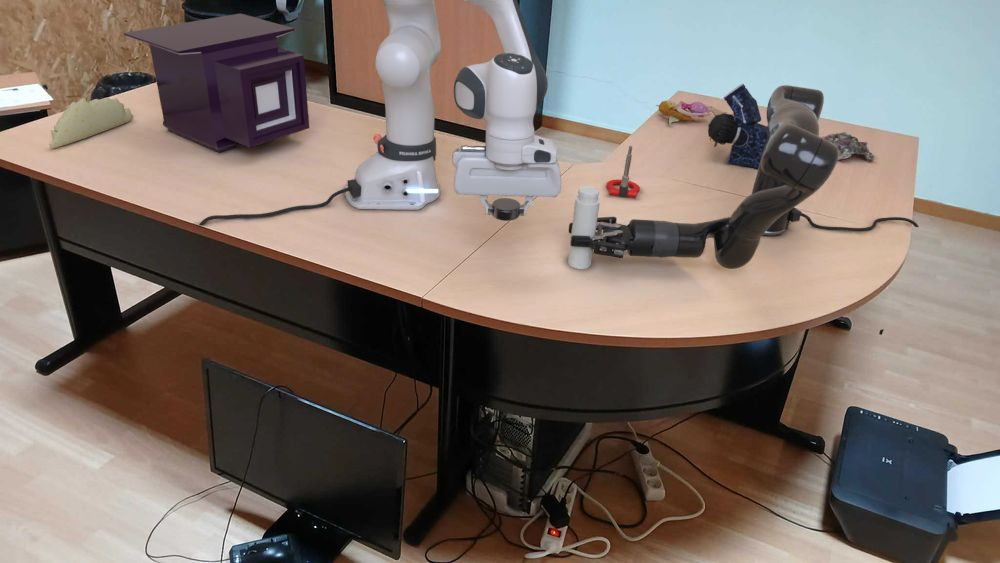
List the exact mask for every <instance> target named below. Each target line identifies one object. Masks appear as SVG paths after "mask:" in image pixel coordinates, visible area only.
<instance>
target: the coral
mask: <svg viewBox="0 0 1000 563" xmlns="http://www.w3.org/2000/svg"><path fill="white" fill-rule="evenodd" d="M821 138H823V139H825V140H827V141H829V142H831V143H833V144H834V145H835V146H836V147H837V148H838V150H839V157H838V160H837V161H839V160H840V161H841V160H844V159H848V158H851V157H852V155H853V154H854V155H857V154H859V155H860V156H861V158H863V159H865V160H866V161H871V162H874V160H875V159H874V158H875V155H874V154H873V153H872V152H871V151H870V149H869V147H868V142H867V141H859V139H858V137H855V136H853V135H852V134H851V133H849V132H848V131H846V132H844V131H843V132H836V133H830V134H827V135H826V136H822V137H821ZM873 157H874V158H873Z"/></svg>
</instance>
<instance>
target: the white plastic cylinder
mask: <svg viewBox="0 0 1000 563" xmlns="http://www.w3.org/2000/svg"><path fill="white" fill-rule="evenodd" d="M577 193H578V195H577V196H576V197H575V202H574V209H573V215H572V216H573V217H572V223H573V224H572V232H571V234H570V238H571V237H572V236H573V235H578V236H590V238H591V237H592V236H595V232H597V230H596V225H597V223H598V222H597V218H599V211H600V210H599V209H600V203H601V199H600V198H599V195H600V190H599V188H597V187H594V186H591V185H586V186H585V185H584V186H583V185H582V186H580V187H579V188H578V192H577ZM593 252H594V250H591V249H590V248H589V247H573V246H571V239H570V240H569V250H568V258H567V264H568V265H569V267H572V268H574V269H576V270H577V269H578V270H585V269H589V268H590V267H591V266H592V259H593V254H594V253H593Z"/></svg>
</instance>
